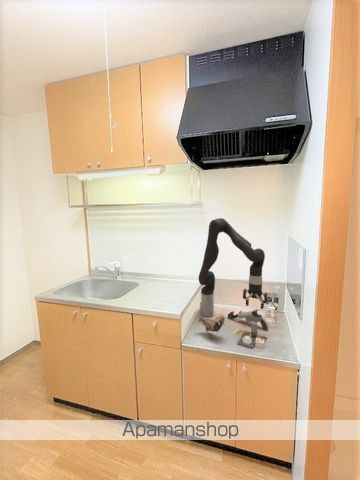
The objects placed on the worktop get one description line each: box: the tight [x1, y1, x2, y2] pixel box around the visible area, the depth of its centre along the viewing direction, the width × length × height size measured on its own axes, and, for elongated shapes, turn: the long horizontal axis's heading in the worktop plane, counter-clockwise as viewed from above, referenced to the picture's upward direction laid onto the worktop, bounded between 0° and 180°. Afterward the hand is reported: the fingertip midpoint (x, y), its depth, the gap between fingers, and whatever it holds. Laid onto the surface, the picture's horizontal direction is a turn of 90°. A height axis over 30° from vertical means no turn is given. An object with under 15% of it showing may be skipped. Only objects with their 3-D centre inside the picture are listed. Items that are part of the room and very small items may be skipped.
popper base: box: [236, 335, 256, 350], centre depth 143 cm, size 9×9×2 cm
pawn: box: [250, 322, 258, 338], centre depth 149 cm, size 4×4×9 cm
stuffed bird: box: [197, 314, 226, 340], centre depth 149 cm, size 10×20×17 cm, turn 65°
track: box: [232, 328, 269, 343], centre depth 151 cm, size 20×6×1 cm, turn 57°
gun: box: [227, 309, 269, 332], centre depth 165 cm, size 5×27×15 cm, turn 51°
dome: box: [242, 336, 252, 345], centre depth 143 cm, size 5×5×5 cm
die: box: [254, 338, 265, 350], centre depth 140 cm, size 4×4×5 cm
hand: (254, 307), depth 147 cm, fingers open, 8 cm apart
